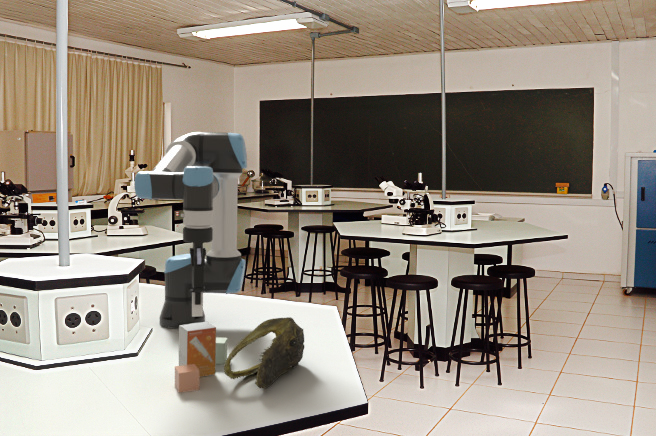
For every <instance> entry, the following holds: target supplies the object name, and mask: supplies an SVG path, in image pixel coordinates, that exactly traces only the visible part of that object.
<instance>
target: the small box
mask: <svg viewBox="0 0 656 436" xmlns="http://www.w3.org/2000/svg"><path fill="white" fill-rule="evenodd" d="M216 337H217V327H216V326H215V325H213V324H212V323H210V322H209V321H205V322H201V323H192V324H186V325H179V328H178V366H182V365H190V364H195V365H196V367H197V368H198V369H199V378H203V377H209V376H213V375H216V364H215V361H216Z"/></svg>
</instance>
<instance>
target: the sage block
mask: <svg viewBox="0 0 656 436" xmlns="http://www.w3.org/2000/svg"><path fill="white" fill-rule="evenodd" d="M227 358H228V337H219V336H216V361H215V365H225V362H226V360H227Z"/></svg>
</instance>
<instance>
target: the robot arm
mask: <svg viewBox="0 0 656 436" xmlns="http://www.w3.org/2000/svg"><path fill="white" fill-rule="evenodd" d="M247 168H248V156H247V148H246V143H245V138H244V136H243V135H242V134H241V133H235V132H229V131H228V132H222V131H221V132H220V131H219V132H218V131H217V132H216V131H214V132H213V131H212V132H210V131H194V132H189V133H187V134H184V135H181V136H179V137H177V138H175V139H174V140H172V141H171V143H170V144H169V145H168V146H167V147H166V150H165V154H164V155H163V156H162V158H161V159H160V160H159V161H158V163H157V164H156V165H155V166H154V168H152V170H150V171H149V170H145V171H138V172H137V173H136V174H135V178H134V182H133V183H134V193H135V195H136V197H137V198H139V199H144V200H145V199H146V200H150V201H151V200H170V201H171V200H174V201H175V200H177V201H178V200H179V201H183V203H182V205H183V206H182V210H183V211H182V213H180V217H181V218H183V219H182V221H183V222H182V225H184V227H183V228H182V240H183V242H185V243H188V244H192V247H190V248H189V253H183V254H182V253H181V254H177V255H173V256H169V257H168V258H167V259H166V260H165V264H164V272H163V273H164V302H163V306H162V308H161V311H160V315H159V325H161V326H162V327H164V328H170V329H179V325H186V324H192V323H201V322H206V315H205V310H204V308H203V307H204V294H225V295H228V294H237V293H239V292H240V291H241V289H242V286H243V282H244V278H245V277H244V276H245V272H246V271H245V270H246V259H243V258H242V253H241V252H240V251H239V250H238V247H237V246H238V239H237V238H238V189H239V188H238V181H239V180H238V179H239V178H240V177H241V176H242V175H243V170H244V169H247ZM204 243H206V244H207V243H210V250H208V251H207V250H206V247H204V245H203V244H204Z"/></svg>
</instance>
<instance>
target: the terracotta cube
mask: <svg viewBox="0 0 656 436" xmlns="http://www.w3.org/2000/svg"><path fill="white" fill-rule="evenodd" d="M174 387H175V389H176V390H177V392H178V393H186V392H193V391H198V390H199V391H200V377H199V369H198V368H197V367H196V365H195V364H190V365H182V366H179V365H177V366H174Z"/></svg>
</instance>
